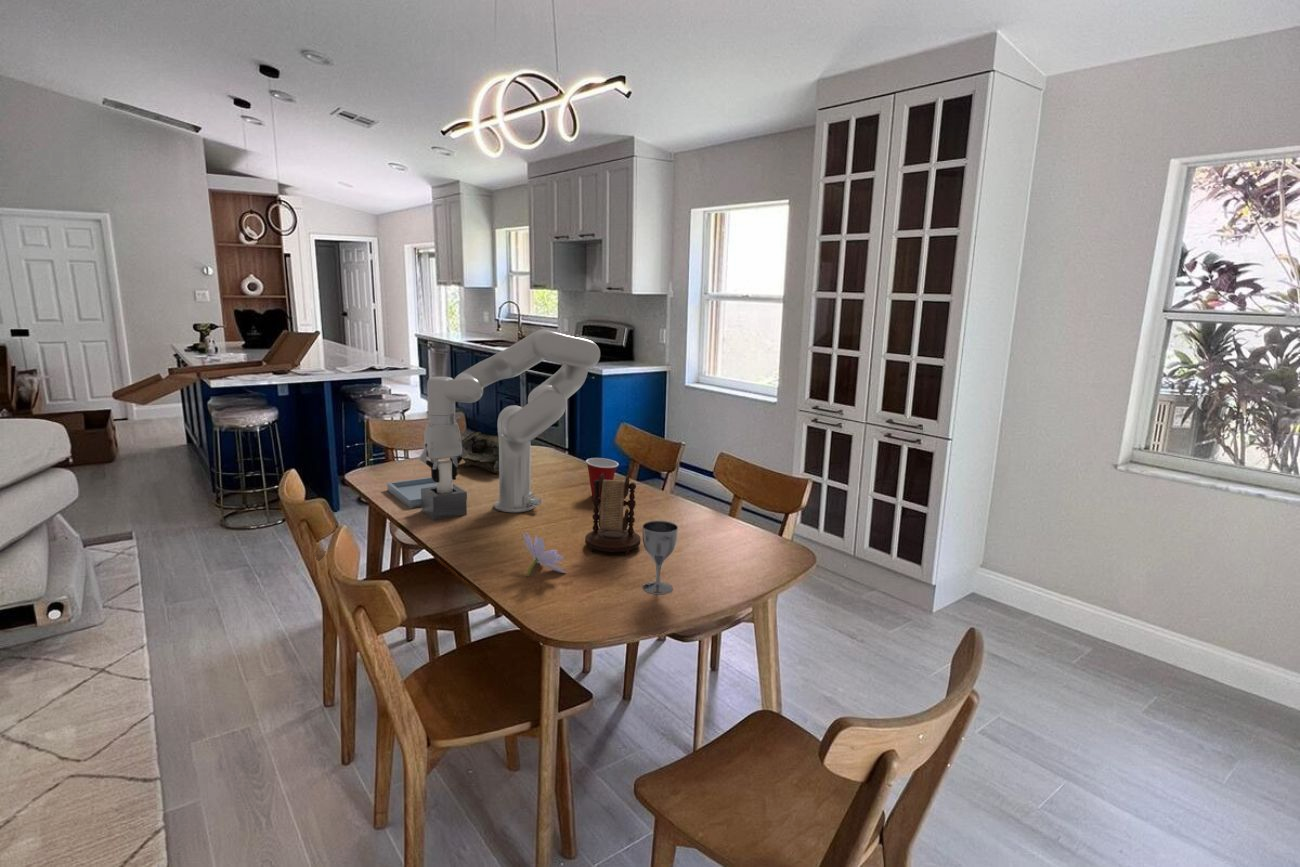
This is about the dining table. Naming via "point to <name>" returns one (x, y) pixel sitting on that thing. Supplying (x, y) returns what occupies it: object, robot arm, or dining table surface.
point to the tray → (411, 490)
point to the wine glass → (659, 550)
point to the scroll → (613, 517)
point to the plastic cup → (600, 470)
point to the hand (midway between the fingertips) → (444, 479)
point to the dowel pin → (444, 477)
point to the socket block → (443, 503)
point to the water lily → (542, 554)
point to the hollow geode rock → (482, 451)
